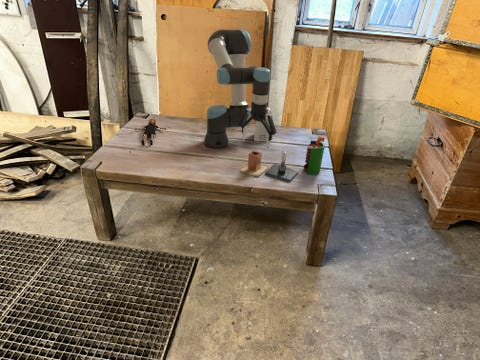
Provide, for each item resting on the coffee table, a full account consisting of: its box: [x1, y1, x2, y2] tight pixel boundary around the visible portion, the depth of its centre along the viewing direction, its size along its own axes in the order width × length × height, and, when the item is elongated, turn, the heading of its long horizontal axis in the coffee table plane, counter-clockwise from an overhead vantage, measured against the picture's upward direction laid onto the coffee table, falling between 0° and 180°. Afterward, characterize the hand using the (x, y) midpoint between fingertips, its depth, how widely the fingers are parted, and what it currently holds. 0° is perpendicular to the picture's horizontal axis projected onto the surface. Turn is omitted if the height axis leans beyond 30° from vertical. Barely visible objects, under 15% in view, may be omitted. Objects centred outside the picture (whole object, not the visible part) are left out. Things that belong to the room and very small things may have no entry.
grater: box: [253, 106, 272, 143], centre depth 204 cm, size 10×10×20 cm
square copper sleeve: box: [247, 150, 263, 172], centre depth 169 cm, size 5×5×9 cm
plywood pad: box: [239, 163, 269, 178], centre depth 172 cm, size 11×11×1 cm
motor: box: [302, 135, 326, 176], centre depth 170 cm, size 10×9×20 cm
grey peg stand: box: [264, 151, 299, 183], centre depth 167 cm, size 14×11×12 cm
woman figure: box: [133, 118, 167, 146], centre depth 205 cm, size 20×6×35 cm
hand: (255, 142), depth 164 cm, fingers open, 13 cm apart
